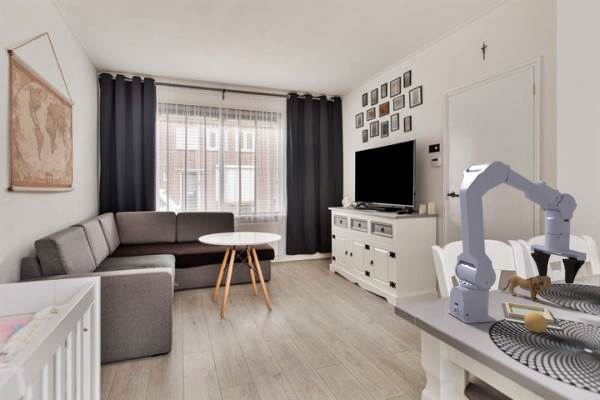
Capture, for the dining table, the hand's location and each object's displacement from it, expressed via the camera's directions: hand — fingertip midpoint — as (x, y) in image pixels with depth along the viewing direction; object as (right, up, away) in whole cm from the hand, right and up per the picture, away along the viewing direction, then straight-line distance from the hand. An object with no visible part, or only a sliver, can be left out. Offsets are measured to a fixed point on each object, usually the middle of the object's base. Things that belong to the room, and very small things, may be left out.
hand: (555, 279), depth 94 cm
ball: (-15, -8, -13) cm, 22 cm away
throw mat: (-10, -10, -3) cm, 14 cm away
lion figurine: (+1, -10, +14) cm, 17 cm away
